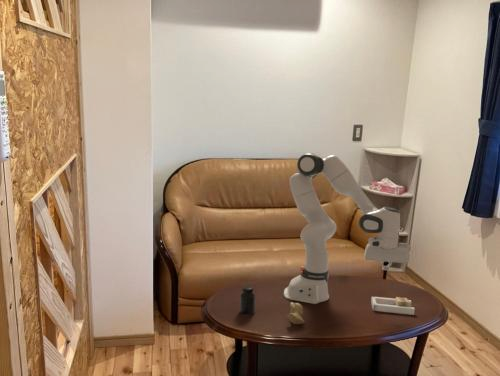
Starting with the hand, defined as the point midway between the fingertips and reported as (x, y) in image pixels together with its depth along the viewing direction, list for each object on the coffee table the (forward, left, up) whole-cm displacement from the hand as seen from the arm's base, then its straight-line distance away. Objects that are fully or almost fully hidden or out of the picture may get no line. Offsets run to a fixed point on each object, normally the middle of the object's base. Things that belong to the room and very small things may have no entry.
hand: (385, 269), depth 216 cm
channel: (+5, 0, -19) cm, 19 cm away
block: (+9, 0, -19) cm, 21 cm away
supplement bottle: (-62, -20, -19) cm, 68 cm away
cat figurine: (-40, -23, -19) cm, 50 cm away
